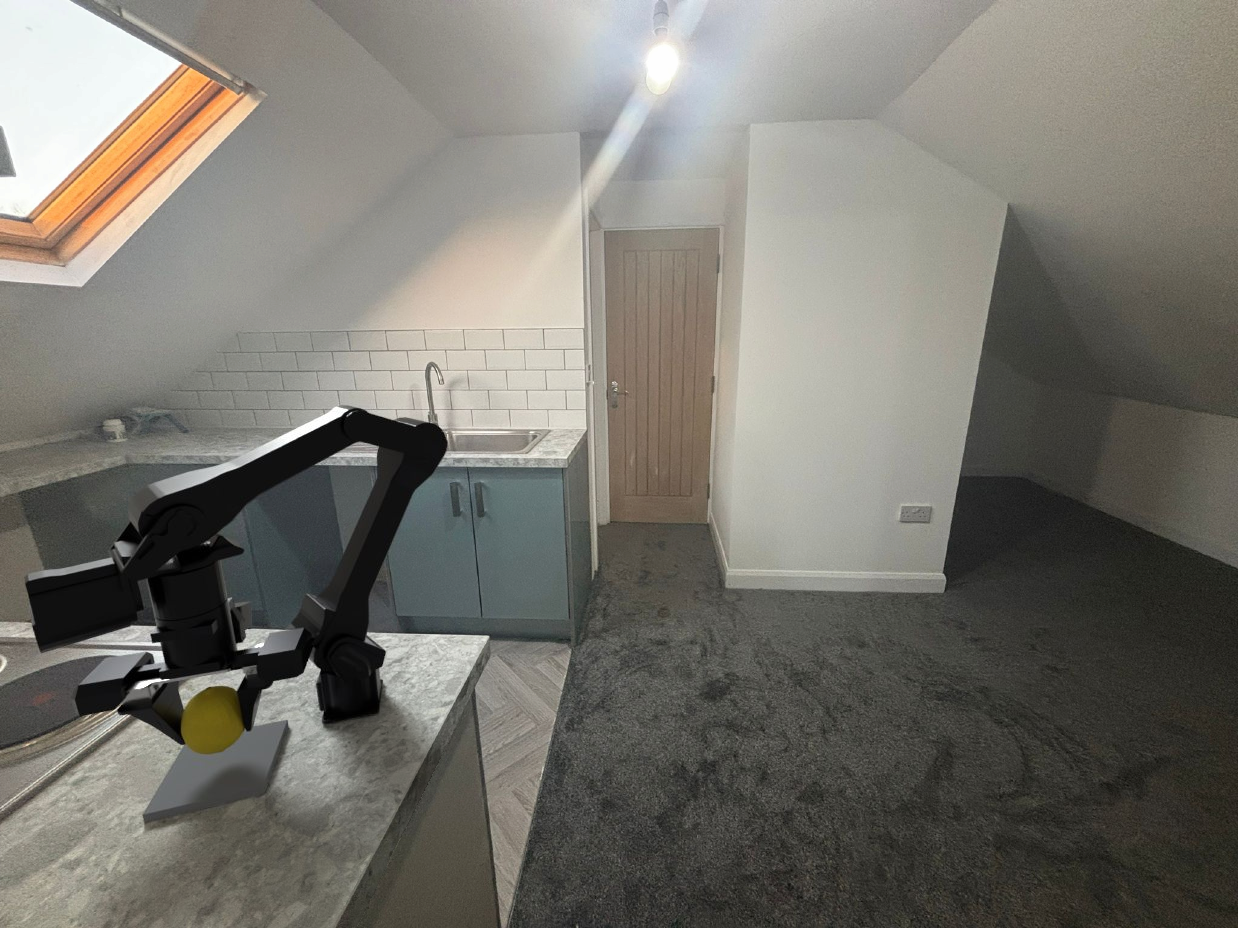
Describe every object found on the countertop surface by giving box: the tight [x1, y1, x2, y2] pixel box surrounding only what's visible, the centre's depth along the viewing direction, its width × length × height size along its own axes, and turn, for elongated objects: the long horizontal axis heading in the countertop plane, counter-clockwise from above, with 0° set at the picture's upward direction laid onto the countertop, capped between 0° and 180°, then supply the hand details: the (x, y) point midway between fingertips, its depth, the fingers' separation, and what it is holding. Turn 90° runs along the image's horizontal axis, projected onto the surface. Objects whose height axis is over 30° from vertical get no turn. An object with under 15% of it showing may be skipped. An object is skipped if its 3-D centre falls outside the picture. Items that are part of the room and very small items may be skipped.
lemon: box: [181, 685, 245, 754], centre depth 54 cm, size 6×6×8 cm
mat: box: [142, 719, 289, 824], centre depth 55 cm, size 10×10×1 cm
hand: (218, 734), depth 55 cm, fingers closed on lemon, 5 cm apart
